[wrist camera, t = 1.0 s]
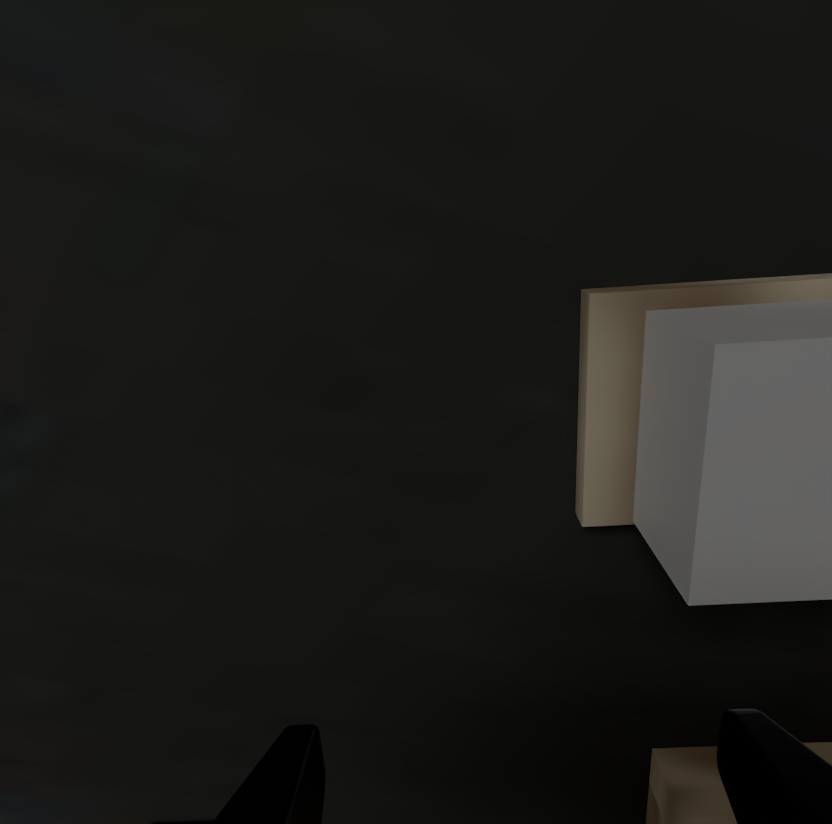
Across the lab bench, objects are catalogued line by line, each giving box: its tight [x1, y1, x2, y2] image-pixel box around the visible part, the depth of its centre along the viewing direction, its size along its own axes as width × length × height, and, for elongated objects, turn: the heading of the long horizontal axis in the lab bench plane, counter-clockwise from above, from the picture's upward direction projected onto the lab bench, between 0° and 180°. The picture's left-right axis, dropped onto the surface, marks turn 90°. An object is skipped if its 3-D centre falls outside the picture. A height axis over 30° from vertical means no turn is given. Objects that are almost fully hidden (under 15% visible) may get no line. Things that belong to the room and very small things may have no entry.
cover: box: [633, 299, 832, 606], centre depth 16 cm, size 7×7×4 cm
